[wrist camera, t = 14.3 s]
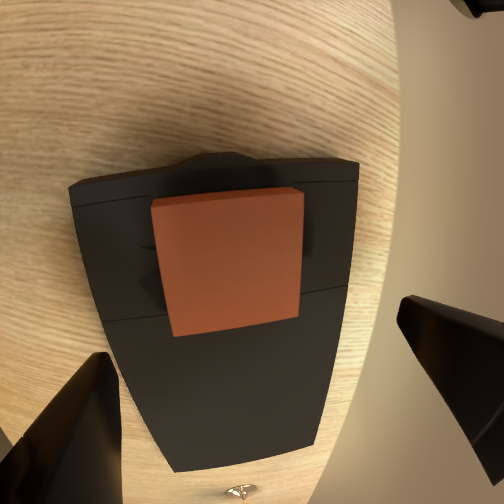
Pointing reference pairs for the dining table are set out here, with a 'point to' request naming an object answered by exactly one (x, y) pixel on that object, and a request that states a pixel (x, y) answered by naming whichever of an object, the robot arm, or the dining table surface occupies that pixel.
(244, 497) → the wineglass
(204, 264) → the reddish orange rectangular block
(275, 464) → the dining table surface
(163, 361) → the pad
